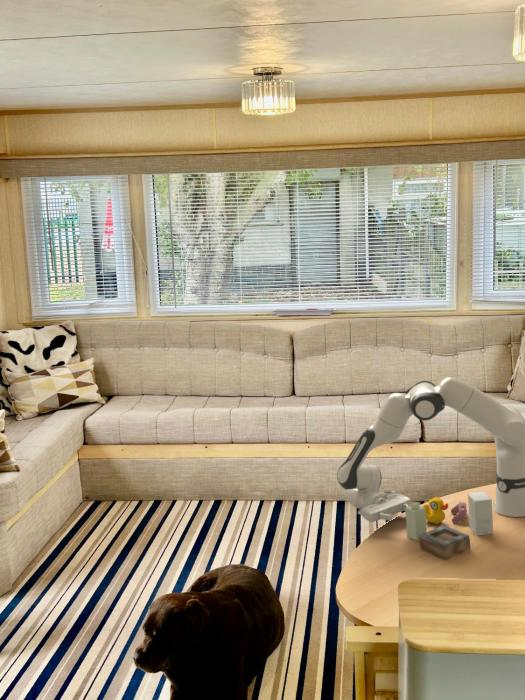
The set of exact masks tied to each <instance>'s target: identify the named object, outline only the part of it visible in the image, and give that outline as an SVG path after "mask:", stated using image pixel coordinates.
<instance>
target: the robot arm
mask: <svg viewBox="0 0 525 700" xmlns="http://www.w3.org/2000/svg"><path fill="white" fill-rule="evenodd" d="M446 407H448V408H451V409H452V410H454V411H456V412H458V413H459V414H461V415H462V416H465V417H466V418H468V419H470V420H471V421H472V422H475V423H476V424H478V425H479V426H480V427H482V428H483V429H485V430H486V431H487V432H489V433H490V434H492V435H493V438H494V446H495V453H496V472H497V473H496V475H495V479H496V487H495V500H493V505H494V511H495V512H496V513H498V514H499V515H501V516H505V517H511V518H512V517H514V518H515V517H517V518H519V517H520V518H521V517H525V418H524V416H523V415H522V413H521V412H520V411H519V409H517V408H516V407H514V406H510V405H504V404H502V403H500V401H497V399H495V398H493V397H492V396H490V395H488V394H487V393H485V392H483V391H482V390H480V389H478V388H477V387H475V386H473V385H472V384H470V383H468V382H466V381H463V380H460V379H458V378H456V377H453V376H452V377H451V376H448V377H447V376H446V377H444V378H443V379H442V380H441V381H440V382H439V384H437V385H435V383H433V382H431V381H429V380H421V381H419V382H417V383H415V384H414V385H413V386H411V387H410V388H408V389H407V390H406V392H405V394H404V393H401V392H393V393H391V394H390V395H389V396H388V398H387V399H386V400H385V402H384V403H383V405H382V407H381V409H380V410H379V412H378V415H377V417H376V418H375V420H374V422H373V423H372V424H371V425H370V426H369V427H368V428H367V429H366V430H365V431H364V432H362V433H361V435H360V436H359V438H358V440H357V441H356V443H355V445H354V446H353V448H352V450H351V452H350V453H349V455H348V456H347V458H346V459H345V461H344V462H342V464H341V465H340V466H339V468H338V470H337V473H336V479H337V482H338V484H339V485H340V487H341V488H342V489H344V490H345V492H344V495H345V499H346V500H347V502H348V503H349V504H350V505H351V506H354V508H357V509H358V511H357V514H358V515H360V516H362V518H364V520H366V521H368V522H369V523H374V522H377V521H381V520H383V521H384V520H386V521H391V520H393V515H395V514H398V513H400V512H403V511H405V508H406V507H409V506H411V504H412V499H411V498H410V497H409V496H407V495H403V494H401V493H396V492H395V491H394V490H387V491H379V490H380V489H381V488H380V487H381V486H382V480H383V479H382V478H383V477H382V472H381V470H380V468H379V467H378V466H377V465H376V464H367V463H364V461H365V460H366V458H367V456H368V454H369V453H371V451H372V450H374V449H376V448H377V447H380V446H384V445H386V444H387V445H388V444H392V443H394V442H395V441H397V440H398V439H399V438H400V437H401V436H402V434H403V432H404V430H405V428H406V425H407V423H408V421H409V419H410V417H411V416H414V417H415V418H416V419H418V420H420V421H429V420H432V419H433V418H435V417H436V416H438V414H439V413H441V412H442V411H443V410H444V409H445V408H446Z"/></svg>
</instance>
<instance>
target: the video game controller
mask: <svg viewBox="0 0 525 700" xmlns="http://www.w3.org/2000/svg"><path fill="white" fill-rule="evenodd" d="M450 514H451V515H454V516H453V517H452V518H451V522H452V523H453V524H457V523H460V522H462V521H463V520H464V519H465V518H466V517H468V516H469V513H468V509H467V503H466V502H463V501H462V502H461V501H459V502H458V503H457V504H456V505H455V506H453V507H452V508H451V510H450Z"/></svg>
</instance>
